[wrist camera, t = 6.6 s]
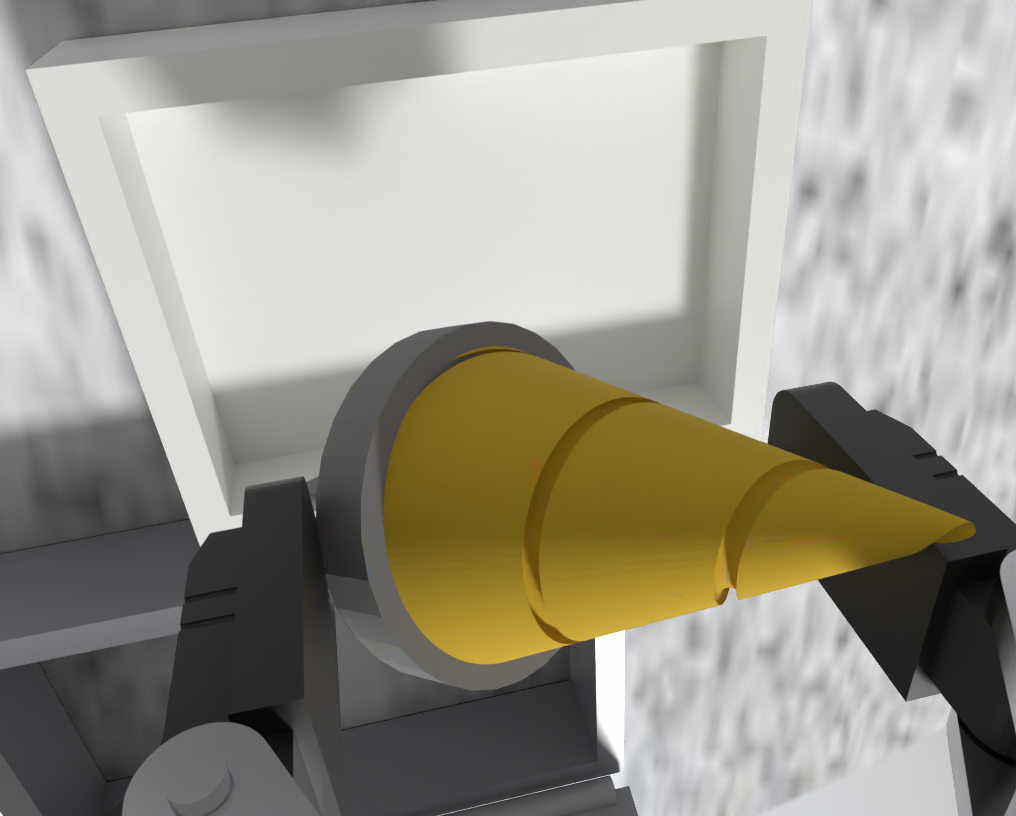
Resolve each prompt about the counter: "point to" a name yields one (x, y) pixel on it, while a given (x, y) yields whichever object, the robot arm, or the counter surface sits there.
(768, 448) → the drill bit
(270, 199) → the tray
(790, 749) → the counter surface
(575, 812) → the lid
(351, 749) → the case
